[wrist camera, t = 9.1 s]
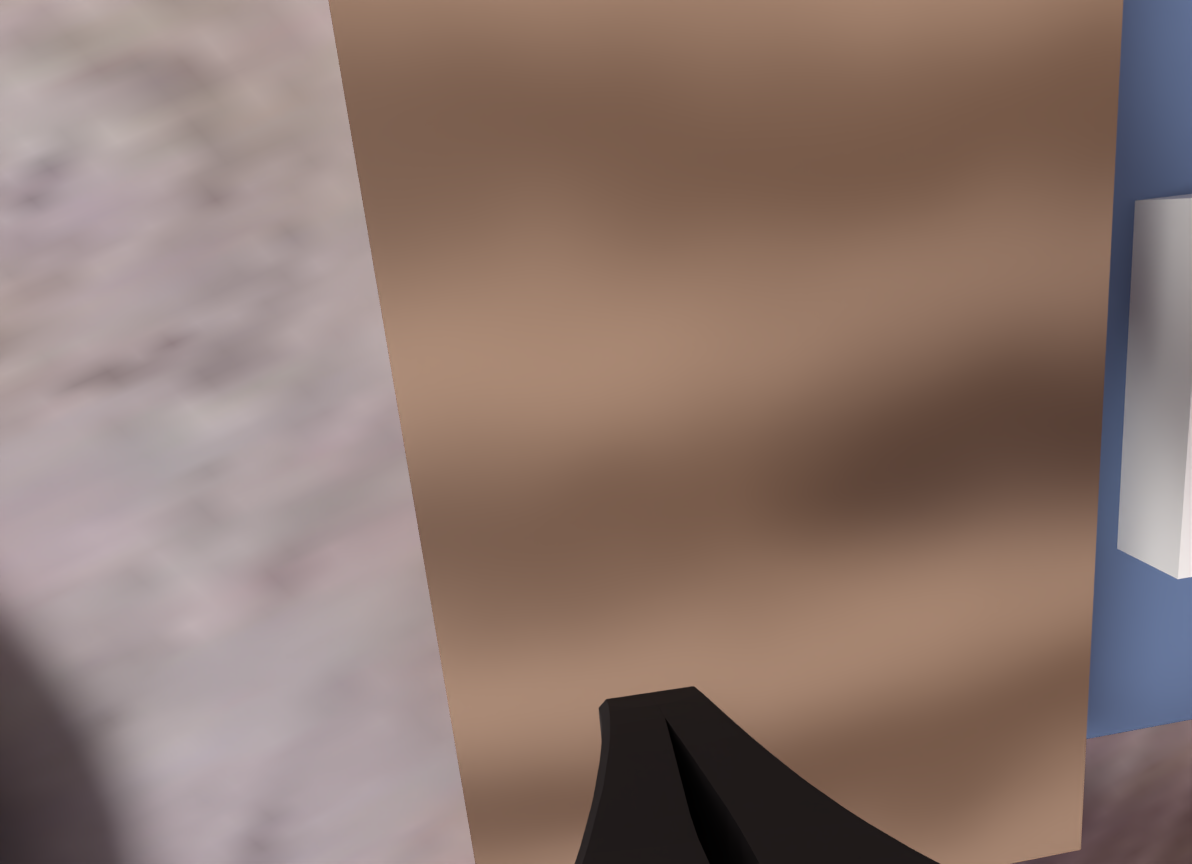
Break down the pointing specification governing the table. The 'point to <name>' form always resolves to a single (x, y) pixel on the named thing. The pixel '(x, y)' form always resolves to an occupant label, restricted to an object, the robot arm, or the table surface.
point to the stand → (752, 387)
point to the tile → (1159, 390)
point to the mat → (1122, 582)
